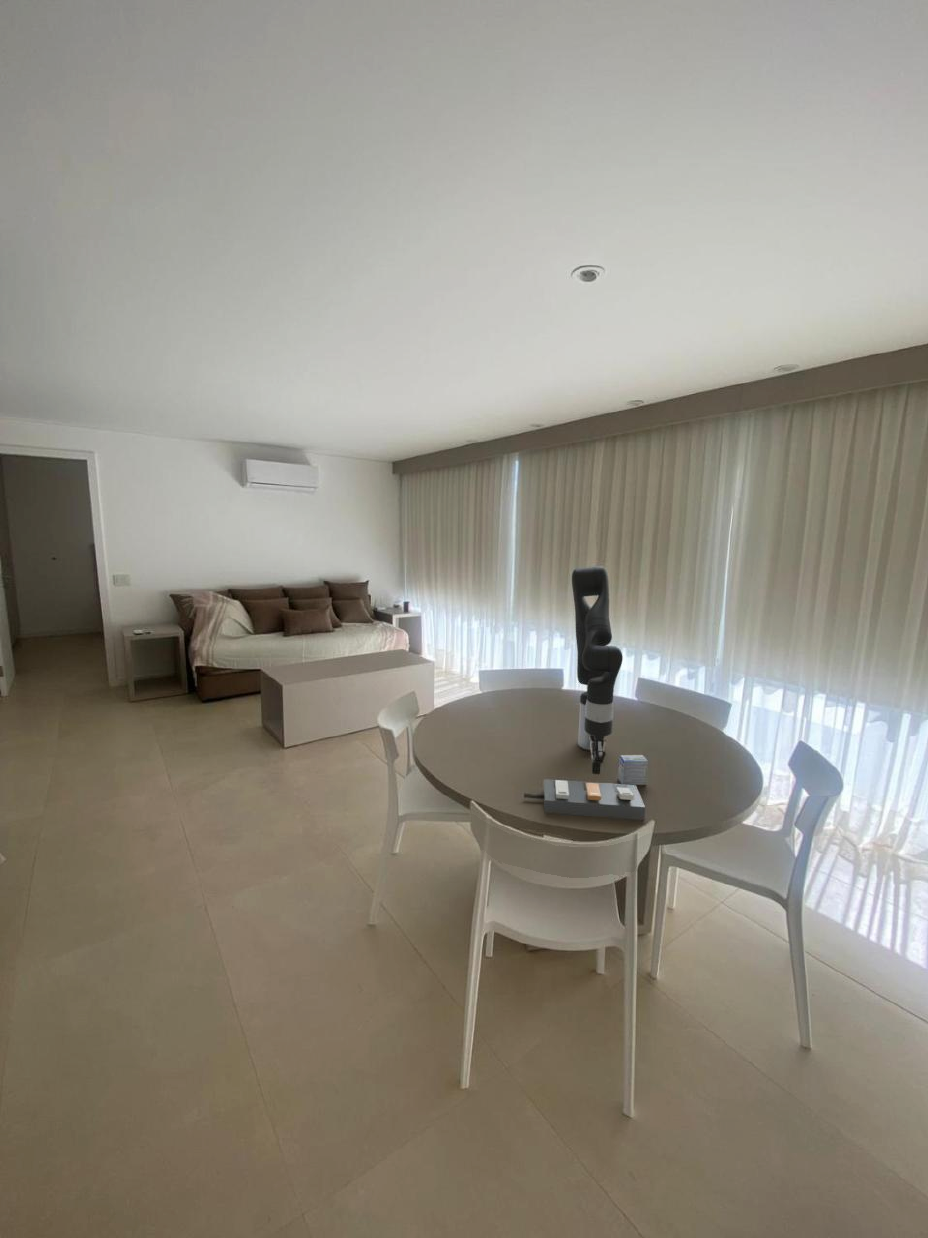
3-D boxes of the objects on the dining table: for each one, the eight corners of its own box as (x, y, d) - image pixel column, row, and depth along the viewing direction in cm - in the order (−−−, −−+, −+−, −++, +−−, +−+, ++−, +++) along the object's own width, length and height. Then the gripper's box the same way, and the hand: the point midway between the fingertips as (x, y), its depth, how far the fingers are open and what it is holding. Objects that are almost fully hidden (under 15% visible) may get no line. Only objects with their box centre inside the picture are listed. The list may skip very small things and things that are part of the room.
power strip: (524, 789, 152) (524, 776, 151) (634, 797, 148) (635, 783, 147) (523, 811, 140) (524, 796, 140) (644, 820, 136) (645, 805, 135)
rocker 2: (585, 786, 144) (585, 782, 143) (597, 787, 143) (598, 783, 143) (587, 799, 138) (588, 795, 137) (600, 800, 137) (601, 796, 137)
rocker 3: (616, 792, 142) (616, 787, 142) (629, 792, 142) (629, 787, 142) (620, 799, 136) (620, 793, 136) (633, 800, 136) (633, 794, 136)
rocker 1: (555, 783, 145) (555, 779, 144) (567, 784, 144) (567, 780, 144) (556, 798, 139) (556, 794, 139) (568, 799, 139) (569, 795, 138)
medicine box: (641, 778, 159) (643, 754, 157) (646, 785, 154) (648, 760, 153) (617, 779, 159) (619, 754, 157) (622, 786, 154) (624, 761, 153)
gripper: (582, 706, 140) (579, 761, 144) (588, 724, 127) (585, 784, 131) (608, 707, 139) (605, 762, 143) (617, 725, 127) (613, 786, 130)
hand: (595, 772), depth 137 cm, fingers closed
